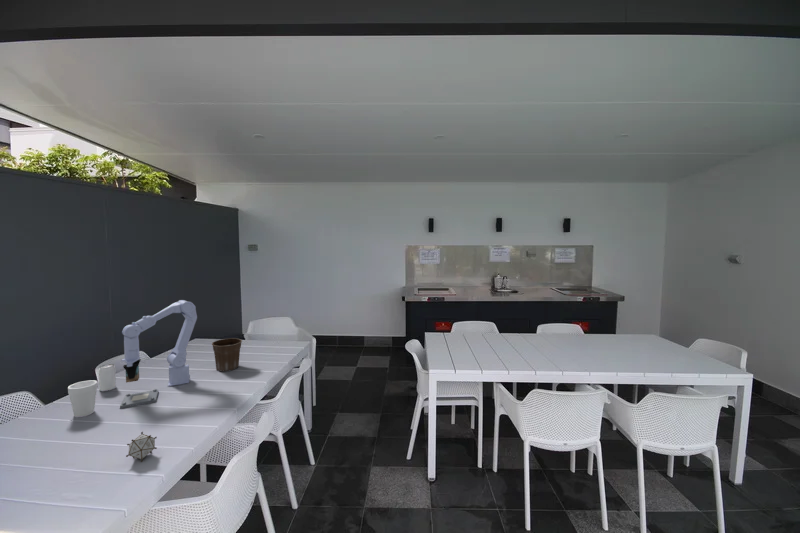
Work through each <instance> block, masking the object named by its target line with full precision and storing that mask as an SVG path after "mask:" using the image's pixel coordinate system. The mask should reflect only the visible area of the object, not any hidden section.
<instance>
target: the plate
mask: <svg viewBox="0 0 800 533" xmlns="http://www.w3.org/2000/svg"><path fill="white" fill-rule="evenodd" d="M158 394H159V389H155V388H154V389H152V390H146V391H142V392H136V393H135V392H134V393H126V394H125V395H124V397H123V399H122V401H121V404H120V405H119V409H125V408H131V407H136V406H141V404H142V405H147V404H146V403H148V404H152V403H151V402H153V403H156V402H157V398H158Z"/></svg>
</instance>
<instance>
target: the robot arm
mask: <svg viewBox="0 0 800 533" xmlns="http://www.w3.org/2000/svg"><path fill="white" fill-rule="evenodd" d="M196 308H197V307H196V305H195V304H194V303H193V302H192V301H187V300H185V299H179V300H178V301H176V302H173V303H171V304H170V305H169V306H166V307H165V308H163V309H162V310H160V311H158V312H157V313H155V314H153V315H143V316H142V318H140V319H138V320H137V321H132V322H131V324H127V325H126V326H124V327H123V329H122V331H121V334H122V335H123V352H124V354H123V355H124V358H122V359H121V362H124V363H125V364H124V365H123V366H122V368H123V369H124V370H125V373H126V372H127V374H128V377H129V379H133V378H135V374H136V369H137V366H139V365H140V362H141V361H142V360H141V357H140V338H139V336H140V334H141V333H143V332H144V331H146V330H148V329H151V327H153V326H155V325H156V323H157V321H160V320H161V319H163V318H165V317H168V316H170V315H171V314H181V315H182V316H183V317H184V321H183V324H182V326H181V329H180V333H179V335H178V338H177V340H176V343H175V346H174V347H173V349H172V350H171V352H170V353H169V354H168V355H167V358H166V362H167V363H168V364H169V365H168V383H167V387H172V386H179V385H183V384H189V383H190V379H191V375H190V364H186V363H187V355H188V354H187V347H188V344H189V341H190V339H191V336H192V333H193V331H194V328H195V325H196V322H197V320H198V315H197V309H196Z"/></svg>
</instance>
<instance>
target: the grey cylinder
mask: <svg viewBox="0 0 800 533" xmlns="http://www.w3.org/2000/svg"><path fill="white" fill-rule="evenodd" d="M116 374H117V372H116V366H115V364H114V363H110V364H109V363H108V364H104V365H100V366H99V369H98V386H99V388H98V389H99V392H108V390H109V391H113V390H115V389H116V388H117V378H116Z"/></svg>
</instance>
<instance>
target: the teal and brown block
mask: <svg viewBox="0 0 800 533" xmlns="http://www.w3.org/2000/svg"><path fill="white" fill-rule="evenodd" d="M139 379H140V366H139V365H138V366H137V369H136V374H135V378H133V379H129V377H128V374H127V372H126V371H125V383H133V382H139Z"/></svg>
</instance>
